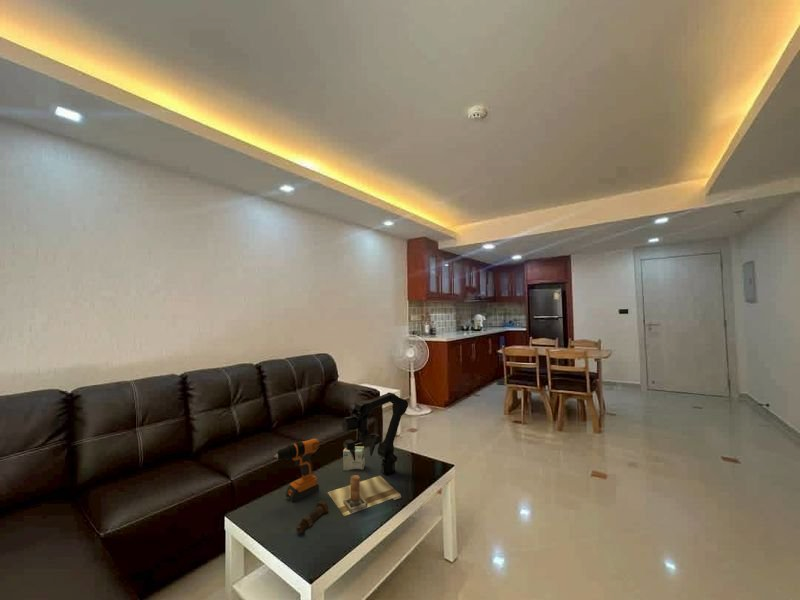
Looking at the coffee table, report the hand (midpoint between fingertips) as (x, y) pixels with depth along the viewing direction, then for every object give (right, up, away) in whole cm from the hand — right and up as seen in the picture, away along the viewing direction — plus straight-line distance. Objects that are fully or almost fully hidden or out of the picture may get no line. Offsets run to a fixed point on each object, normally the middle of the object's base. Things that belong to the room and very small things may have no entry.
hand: (362, 458), depth 165 cm
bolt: (-18, -12, -31) cm, 38 cm away
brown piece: (-1, -10, -21) cm, 24 cm away
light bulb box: (-6, -13, +14) cm, 20 cm away
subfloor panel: (+2, -12, -13) cm, 17 cm away
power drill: (-29, -12, -13) cm, 34 cm away
